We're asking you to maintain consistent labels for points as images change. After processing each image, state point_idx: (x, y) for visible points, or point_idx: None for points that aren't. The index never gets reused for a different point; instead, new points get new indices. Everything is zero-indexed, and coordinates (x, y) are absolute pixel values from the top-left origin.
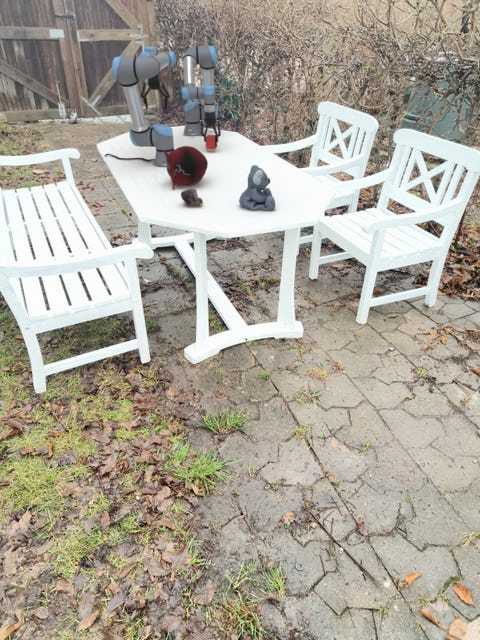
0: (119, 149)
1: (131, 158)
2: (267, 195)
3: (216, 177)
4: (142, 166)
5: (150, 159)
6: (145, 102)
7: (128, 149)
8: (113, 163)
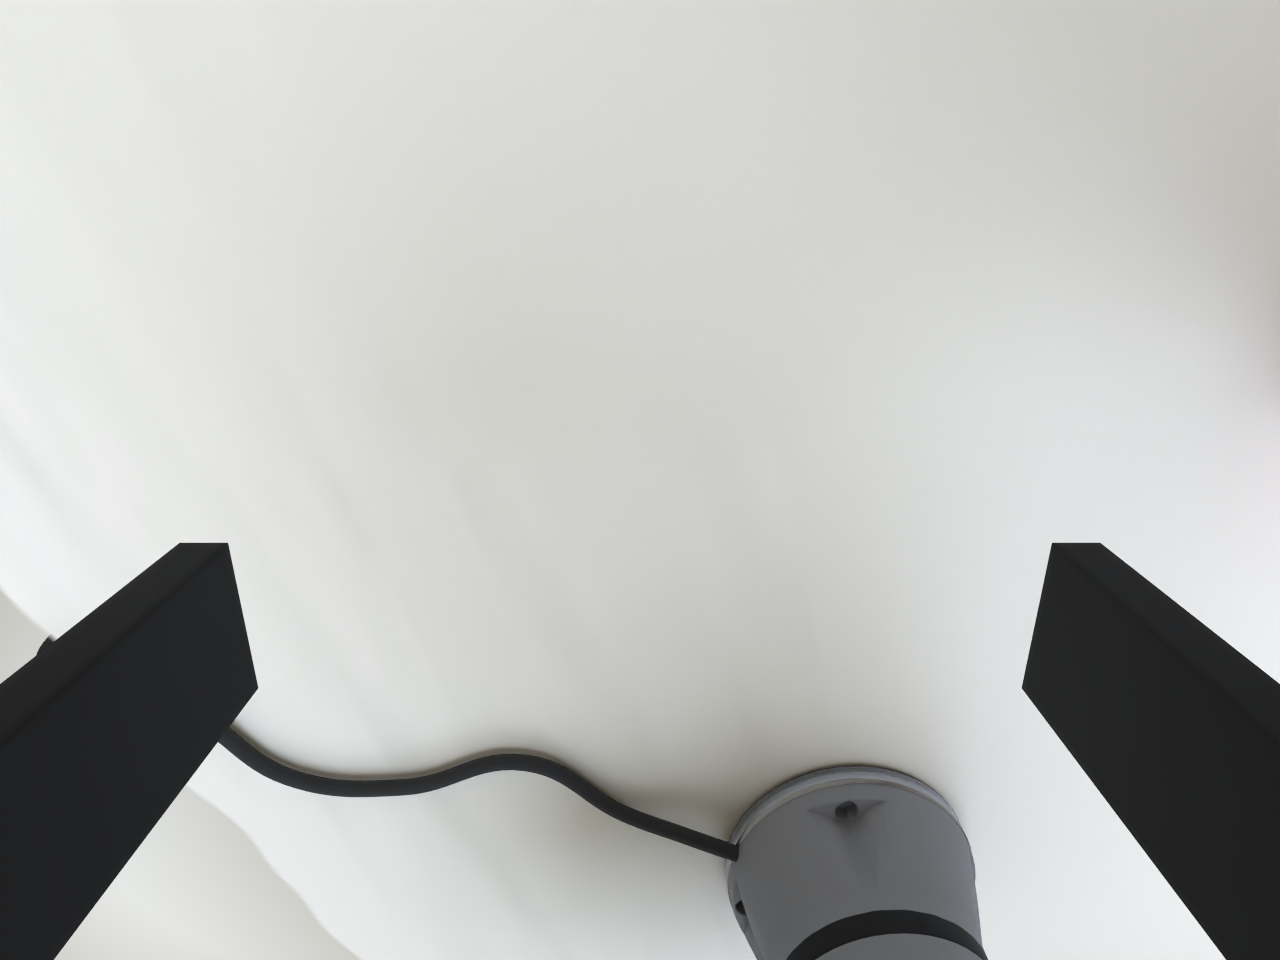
0: (19, 346)
1: (430, 790)
2: None
3: None
4: (628, 943)
5: (664, 835)
6: (60, 903)
7: (150, 334)
8: (304, 888)
